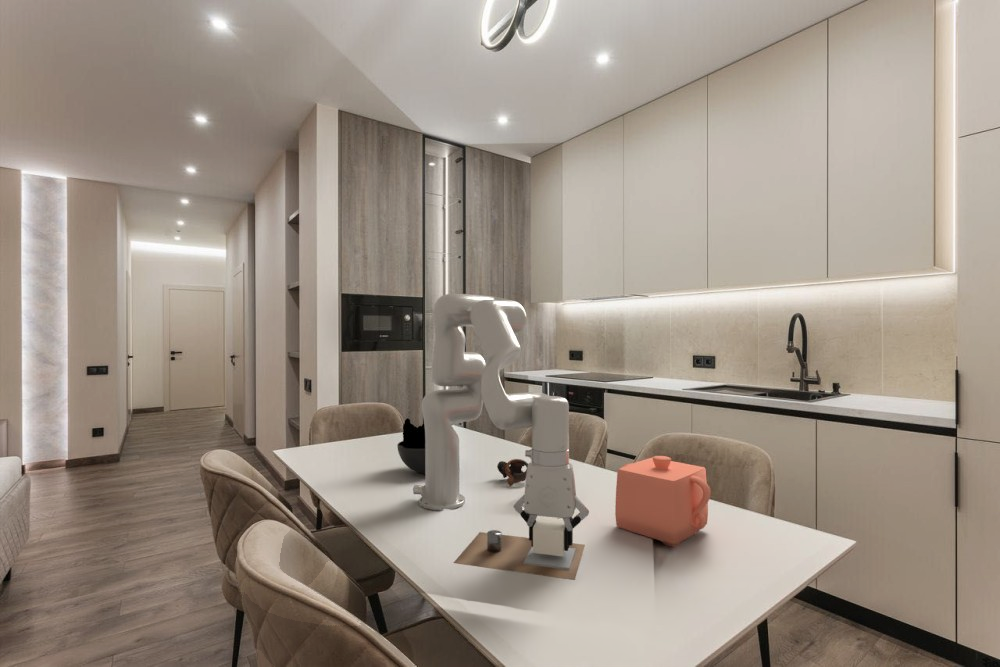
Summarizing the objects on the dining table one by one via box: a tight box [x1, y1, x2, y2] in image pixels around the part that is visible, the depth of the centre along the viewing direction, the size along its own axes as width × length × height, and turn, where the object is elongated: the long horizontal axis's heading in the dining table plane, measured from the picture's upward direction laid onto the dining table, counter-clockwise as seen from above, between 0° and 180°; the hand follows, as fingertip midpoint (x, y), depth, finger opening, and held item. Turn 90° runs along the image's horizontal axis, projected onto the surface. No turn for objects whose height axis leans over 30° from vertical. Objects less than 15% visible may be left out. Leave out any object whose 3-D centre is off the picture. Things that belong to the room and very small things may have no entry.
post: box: [486, 529, 503, 553], centre depth 102 cm, size 3×3×4 cm
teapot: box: [614, 455, 712, 547], centre depth 118 cm, size 25×23×18 cm
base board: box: [453, 531, 586, 581], centre depth 100 cm, size 24×16×2 cm, turn 73°
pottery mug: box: [496, 458, 529, 486], centre depth 156 cm, size 12×10×8 cm
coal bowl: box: [396, 417, 425, 474], centre depth 168 cm, size 20×20×19 cm
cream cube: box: [533, 516, 566, 557], centre depth 99 cm, size 6×6×5 cm
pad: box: [524, 547, 576, 570], centre depth 99 cm, size 9×9×1 cm
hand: (550, 545), depth 99 cm, fingers closed on cream cube, 6 cm apart
